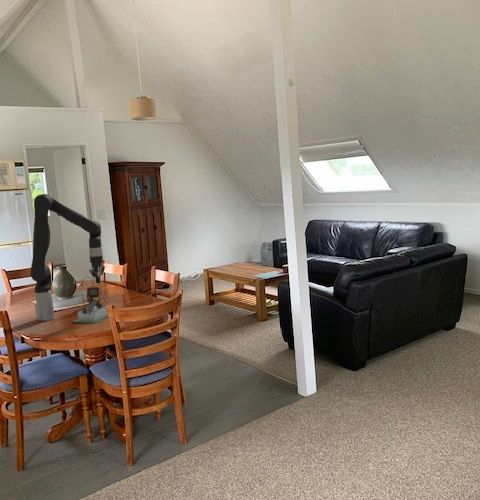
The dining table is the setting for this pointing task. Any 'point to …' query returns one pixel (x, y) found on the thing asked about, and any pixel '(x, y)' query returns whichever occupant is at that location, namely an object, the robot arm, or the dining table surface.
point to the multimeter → (93, 293)
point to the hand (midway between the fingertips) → (98, 283)
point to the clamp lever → (92, 304)
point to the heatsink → (92, 315)
